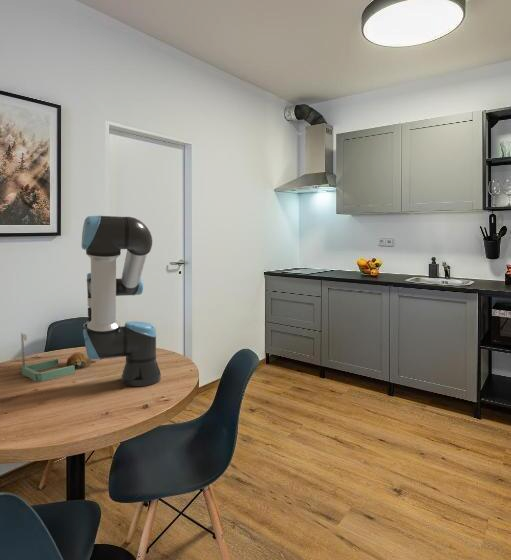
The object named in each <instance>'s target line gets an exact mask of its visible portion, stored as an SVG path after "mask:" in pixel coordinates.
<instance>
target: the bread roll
mask: <svg viewBox="0 0 511 560" xmlns="http://www.w3.org/2000/svg"><path fill="white" fill-rule="evenodd" d="M91 363H92V360H91V359H89V358H88V357H87V352H86V353H85V352H83V351H78V352H74V353H72V354H71V355H70V356H69V357H68V358H67V359H66V367H68V366H72V365H73V366H75V370H80V369H81V370H82V369H86V368H88V366H89V367H90V366H91Z"/></svg>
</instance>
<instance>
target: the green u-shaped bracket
mask: <svg viewBox="0 0 511 560" xmlns="http://www.w3.org/2000/svg"><path fill="white" fill-rule="evenodd" d="M20 337H21V341H20V342H21V359H22V363H21V364H22V365H20V367H19V369H20V371H19V372H20V375H23V376H24V375H25V376H24V377H26V376H27V377H26V378H28V377H29V379H30V380H31V381H35V382H36V383H41V382H44V381H45V382H46V381H48V380H52V379H56V378H60V377H65V376H69V375H73V374H75V373H76V369H75V366H73V365H72V366H68V367H67V366H64V367H60V368H56V367H59V358H54V359H49V360H45V361H39V362H35V363H30V364H25V344H24V343H25V342H27V341H28V335H27V334H25V333H24V332H21V333H20ZM51 368H55V369H52V370H51ZM46 369H50V370H47V371H44V370H46ZM42 370H43V371H44V372H39V371H42Z"/></svg>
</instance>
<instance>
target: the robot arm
mask: <svg viewBox="0 0 511 560" xmlns="http://www.w3.org/2000/svg"><path fill="white" fill-rule="evenodd" d="M151 233H152V232H151V231H150V230H149V228H148V227H147V225H145V223H143V222H142V221H141V220H140V219H137V218H135V217H131V216H118V215H117V216H113V215H112V216H111V215H100V214H99V215H89V216H87V217H85V219H84V222H83V227H82V233H81V249H82V250H84V251H85V255H86V256H87V257H89V258H90V272H88V273H86V287H87V288H86V290H87V320H86V322H85V323H82V327H83V328H84V329H82V333H83V339H84V345H85V351H86V354H87V357H88V358H89V359H91V361H94V360H99V361H100V360H105V359H115V358H122V357H125V364H124V366H123V370H122V374H121V377H120V378H121V384H122V385H124V386H129V387H147V386H152V385H155V384H157V383H159V382H160V381H161V380H162V379H161V377H162V376H161V375H162V374H161V371H160V367H159V365H158V362H157V328H156V326H155V325H154V324H153V323H150V322H147V321H146V322H145V321H136V320H134V321H133V320H132V321H125V323H124V326H121V323H120V322H119V321H118V320H117V319H116V318H117V315H116V314H117V309H116V308H117V302H116V301H117V299H116V298H117V297H120V296H121V297H122V296H125V297H126V296H140V295H142V294H143V292H144V283H143V279H142V278H141V277H142V272H143V270H144V267H145V266H144V265H145V262H146V258H147V255H148V254H149V253H150V252H151V250H152V247H153V237H152V234H151ZM122 250H126V254H125V258H124V262H123V263H124V264H123V268H122V273H121V278H117V259H118V258H119V257H120V256H121V251H122Z"/></svg>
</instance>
